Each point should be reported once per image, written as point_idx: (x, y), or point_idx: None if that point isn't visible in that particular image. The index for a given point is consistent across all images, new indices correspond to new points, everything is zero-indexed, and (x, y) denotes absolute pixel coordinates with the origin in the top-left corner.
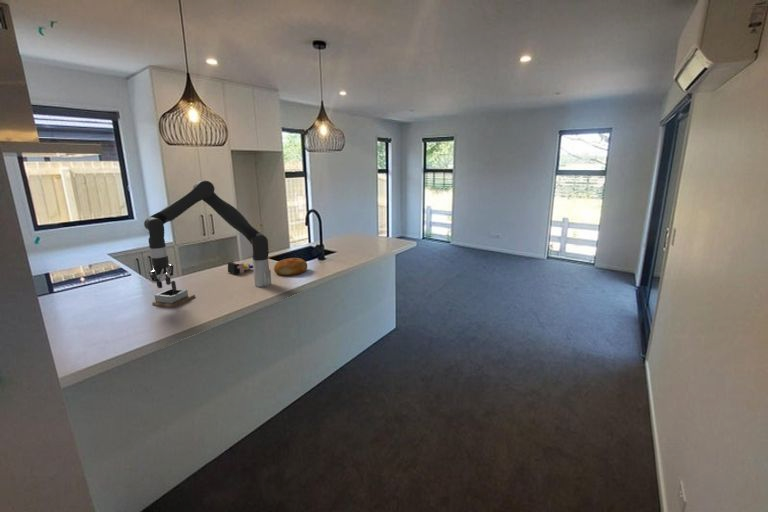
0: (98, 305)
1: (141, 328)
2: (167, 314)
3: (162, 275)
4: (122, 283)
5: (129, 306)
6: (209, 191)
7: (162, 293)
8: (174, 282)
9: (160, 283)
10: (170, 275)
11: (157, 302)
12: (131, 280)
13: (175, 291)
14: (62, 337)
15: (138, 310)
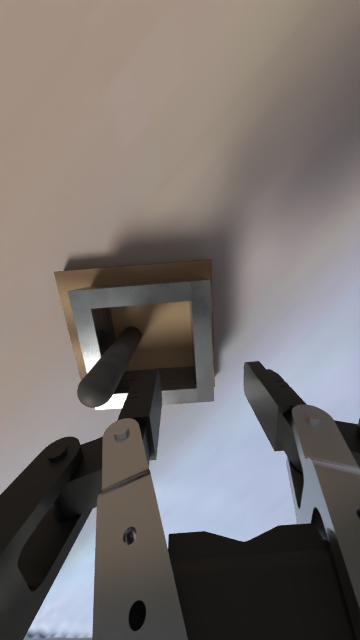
0: (260, 523)
1: None
2: (296, 216)
3: (322, 489)
4: (88, 603)
5: (246, 441)
6: None
7: (172, 388)
8: (94, 376)
9: (281, 391)
10: (90, 454)
11: None
12: (56, 604)
13: (123, 341)
14: None
15: None
